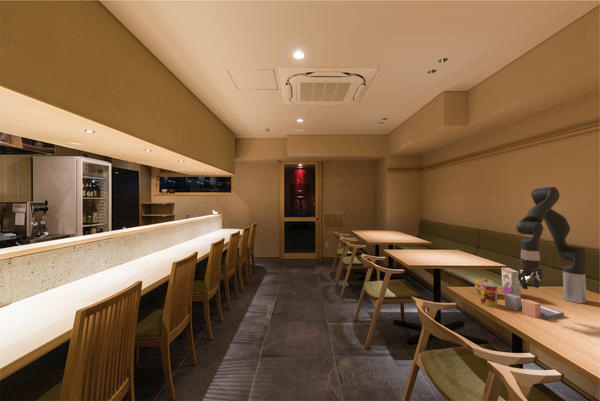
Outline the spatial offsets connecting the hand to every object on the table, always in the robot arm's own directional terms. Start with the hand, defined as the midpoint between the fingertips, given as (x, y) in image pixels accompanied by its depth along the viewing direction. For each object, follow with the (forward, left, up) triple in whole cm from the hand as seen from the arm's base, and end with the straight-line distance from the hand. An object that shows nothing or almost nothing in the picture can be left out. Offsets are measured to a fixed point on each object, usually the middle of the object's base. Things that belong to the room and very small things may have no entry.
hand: (530, 288), depth 132 cm
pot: (-6, -30, -15) cm, 34 cm away
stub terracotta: (0, 0, -15) cm, 15 cm away
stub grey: (0, -9, -15) cm, 17 cm away
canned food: (+8, -17, -15) cm, 24 cm away
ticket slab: (-8, -4, -15) cm, 17 cm away
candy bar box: (-20, -24, -15) cm, 35 cm away
